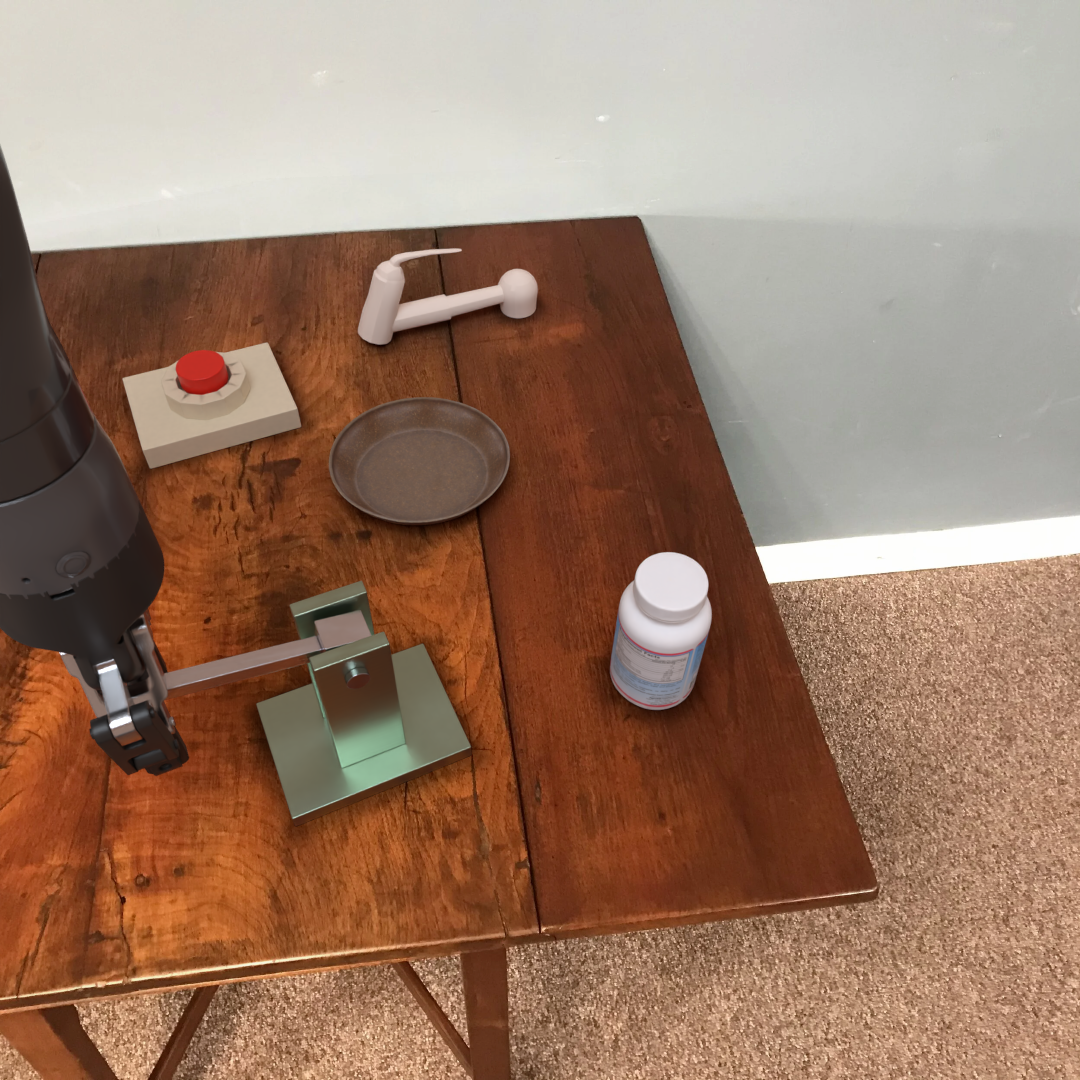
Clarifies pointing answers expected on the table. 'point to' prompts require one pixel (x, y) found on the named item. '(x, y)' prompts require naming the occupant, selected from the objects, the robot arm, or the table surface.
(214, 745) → the table surface
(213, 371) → the button
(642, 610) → the pill bottle
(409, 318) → the faucet
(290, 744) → the bracket
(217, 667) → the tap handle
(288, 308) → the table surface
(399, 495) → the saucer
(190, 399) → the button box
